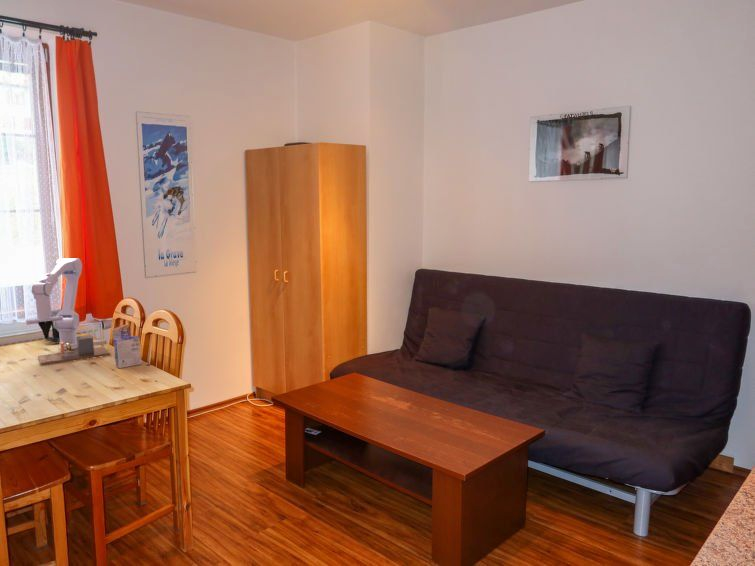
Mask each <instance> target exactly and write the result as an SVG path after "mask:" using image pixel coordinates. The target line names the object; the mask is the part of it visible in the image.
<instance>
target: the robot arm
mask: <svg viewBox="0 0 755 566" xmlns="http://www.w3.org/2000/svg"><path fill="white" fill-rule="evenodd" d="M82 270H83V262H82V260H81V259H80V258H78V257H77V258H71V257H70V258H64V257H63V258H61V257H59V258H58V259H57V260H56V261H55V267H54V268H53V269H52V271H51V272H47V273H45V275H44V276H43V277H42V278H41V279H40V280H39V281H38V282H35V283H33V284H32V285H31V290H30V291H31V293H32V295H33V298H34V300H35V309H36V318H31V319H26V320H25V321H26V322H25V323H26V325H27V326H28V325H35V324H37V325H38V326H39V327H40V330H41V331H42V334H43V333H44V335H43V336H44V339H45V340H47V339H46V338H48V337H50V331H51V329H52V322H54V327H55V328H56V329H57V331H59V336H60V341H63V343H64V345H66V343H70V344H77V339H76V337H77V330H78V328H79V327H80V315H79V313H77V312H76V311H75V306H76V300H77V299H76V298H77V292H78V286H79V279H80V277H81V275H82ZM61 275H62V276H63V277H64V278H66V282H65V289H64V296H63V301H62V310H61V309H60V310H61V311H60V312H58V313H57V315H56V316H55V317H52V315H51V314H52V313H51V311H52V308H51V307H52V306H51V305H52V304H51V294H52V293H53V289H54V286H55V285H56V284H57V283H58V281H59V277H60V276H61ZM41 321H42V322H41ZM45 325H46V329H45ZM58 348H59V350H60V345H58ZM74 350H77V348H75V349H74Z"/></svg>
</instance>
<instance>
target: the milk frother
mask: <svg viewBox="0 0 755 566" xmlns="http://www.w3.org/2000/svg"><path fill="white" fill-rule="evenodd" d="M61 310H62V309H55V310H51V315H52V317H55V316H56V315H57V313H58V312H60V311H61ZM40 322H42V321H40ZM45 329H46V325H45ZM51 332H52V337H50V336H49V337H48V338H46V339H45V340H47V341H50V342H52V343H54V344H58V343H60V336H59V331H57V329H56V328H55V327H54V322H52V326H51ZM42 334H43V336H44V333H43V332H42Z"/></svg>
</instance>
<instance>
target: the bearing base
mask: <svg viewBox="0 0 755 566" xmlns="http://www.w3.org/2000/svg"><path fill="white" fill-rule="evenodd" d="M93 338H94V337H93V336H92V335H91V334H86V335H78V336H76V339H77V343H78V347H79V348H77V349H76V350H71V351H64V352H65V354H63V355H62V354H61V352H56V353H49V354H42V355H37V359H38V362H39V365H40V366H46V365H53V364H55V365H56V364H62V363H66V362H73V361H74V360H75V361H82V360H88V359H87V358H89V359H94V358H93V357H96V358H101V357H100V356H103V357H108V355H109V356H110V355H111V354H110V351H109V350H107V348H106V347H105V346H100V347H99V346H98V347H95V346H93V341H94V339H93ZM81 359H82V360H81ZM75 361H74V362H75Z"/></svg>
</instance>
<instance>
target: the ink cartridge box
mask: <svg viewBox="0 0 755 566" xmlns="http://www.w3.org/2000/svg"><path fill="white" fill-rule="evenodd" d="M123 334H128V335H126V336H123ZM130 334H131V332H130V333H129V332H124V333H121V338H119V339H113V338H112V341H113V340H114V342H113V348H114V349H115V352H114V361H115V360H116V362H115V366H116V368H117V369H122V368H128V367H133V366H134V367H135V366H138V365H142V356H141V355H142V354H141V345H140V344H141V343H140V342H141V341H140V336H137V335H132V336H130ZM114 349H113V350H114Z"/></svg>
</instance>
